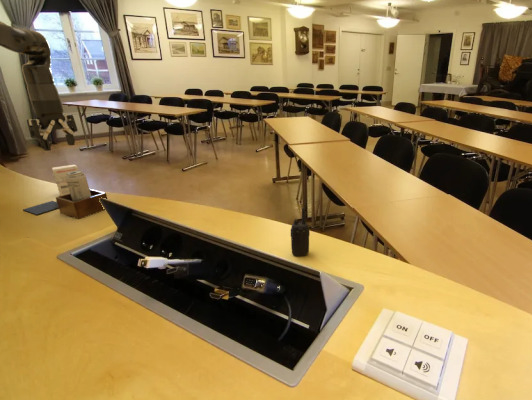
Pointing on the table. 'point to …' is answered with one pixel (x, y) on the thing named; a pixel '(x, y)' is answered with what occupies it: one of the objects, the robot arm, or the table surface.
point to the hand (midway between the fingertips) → (60, 147)
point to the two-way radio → (300, 236)
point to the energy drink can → (78, 185)
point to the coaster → (42, 208)
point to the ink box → (63, 177)
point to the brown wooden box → (80, 204)
